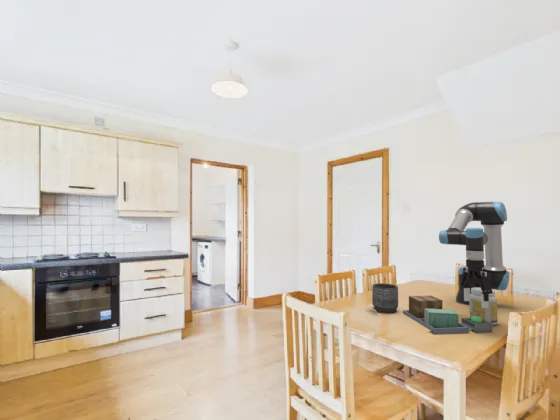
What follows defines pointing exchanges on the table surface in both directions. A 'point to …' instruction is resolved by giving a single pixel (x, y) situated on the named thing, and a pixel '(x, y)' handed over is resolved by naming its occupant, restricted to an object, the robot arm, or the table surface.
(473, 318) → the button
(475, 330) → the square metal sleeve
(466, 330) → the grey divided tray
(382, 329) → the table surface
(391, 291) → the planter
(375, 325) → the table surface
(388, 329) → the table surface
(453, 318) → the box
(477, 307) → the supplement tub
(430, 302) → the walnut block
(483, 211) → the robot arm
